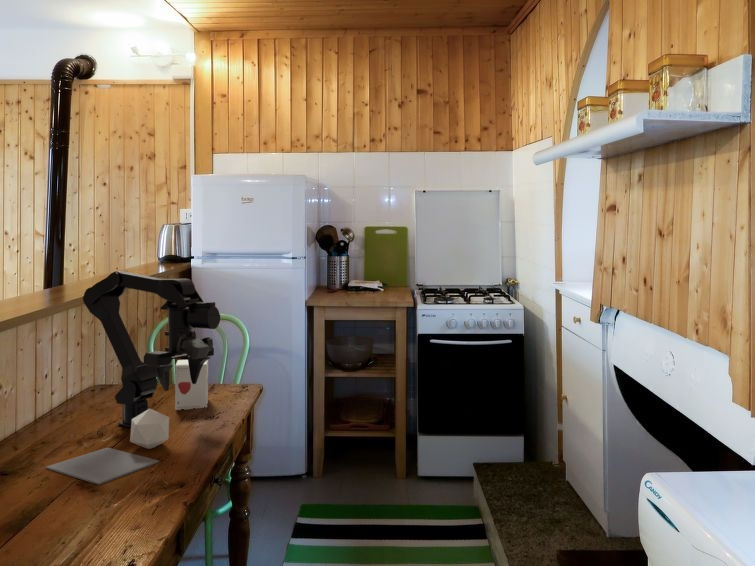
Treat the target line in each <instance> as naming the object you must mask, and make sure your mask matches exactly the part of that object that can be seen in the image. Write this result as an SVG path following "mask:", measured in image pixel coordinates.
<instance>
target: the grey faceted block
mask: <svg viewBox="0 0 755 566" xmlns="http://www.w3.org/2000/svg"><path fill="white" fill-rule="evenodd" d="M169 431H170V417H169V416H167V415H165V414H163V413H161V412H159V411H156V410H154V409H152V408H148V410H146V411H145V412H143V413H141V414H140V415H138V416H136V417H135V418H133V419H132V421H131V427H130V436H129V437H130V439H129V442H130V443H132V444H135V445H137V446H140V447H142V448H145V449H148V450H150V449H154V448H156V447H158V446H160V445H161V444H162V443H164V442H166V441H167V440H169V436H170V435H169V433H170V432H169Z"/></svg>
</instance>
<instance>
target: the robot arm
mask: <svg viewBox="0 0 755 566" xmlns="http://www.w3.org/2000/svg"><path fill="white" fill-rule="evenodd" d="M126 289H132V290H137V291H141V292H146V293H152V294H155V295H157V296H158V297H160V299H163V300H165V303H163V304H162V306H160V310H162V311H165V310H166V311H167V318H168V319H167V320H168V322H167V323H168V325H167V329H168V330H167V331H164V336H167V337H168V339H167V341H168V346H165V347H164V351H161V350H160V351H159V350H154V351H148V352H146V353H145V354H144V355H143V360H141V358H140V356H139V353H138V351H137V350H136V348H135V345H134V343H133V341H132V338H131V337H130V334H129V332H128V330H127V328H126V325H125V324H124V322H123V319H122V318H121V314H120V309H121V302H120V297H122V296H123V294H124V293H125V291H126ZM82 302H83V304H84V306H85V307H86V308H87V310H88V312H89V313H90V314H91V315H92V316H94V317H96V319H97V320H99V321H100V323H101V325H102V327H103V330H104V331H105V334H106V336H107V338H108V341H109V343H110V344H111V347H112V350H113V351H114V354H115V355H116V357H117V360H118V362H119V365H120V366H121V377H120V380H121V384H122V388H121V389H120V390H119V391H118V392H117V393H116V394H115V395H114V400H115V402H116V404H119V405H122V406H121V407H122V420H121V421H118V422H117V425H119V426H124V427H129V428H131V421H132V419H133V418H135V417H136V416H138V415H140V414H141V413H143V412H145V411H146V410H148V409H149V406H148V405H149V400H147V399H152V398H153V397H154V393H155V391H156V389H157V386H158V385H159V383H160V384H161V385H160V386H162V388H163V390H164V391H166V392H168V391H169V388H170V370H171V369H172V367H173V364H171V363H172V361H173V360H177V359H181V358H186V357H187V360H188V364H189V370H190V376H191V381H192V384H196V382H197V379H198V377H199V374H200V371H201V368H202V366H203V364H204V363H205V362H206V361H207V360H208V361H209V360H210V359H211V356H214V355H215V348H214V341H213V338H212V337H210V336H207V337H203V338H198V337H197V334H196V331H195V330H193V329H201V330H202V329H204V330H216V328H218V327H219V325H220V323H221V314H220V311H219V309H218V307H216V302H214V301H209V302H204V300H203V298H202V297H201V296H200V294H199V293H198V291H197V290H196V286H195V284H194V282H193V281H192V279H191V278H190V279H189V278H160V277H153V276H148V275H144V274H138V273H134V272H129V271H127V270H123V271H122V270H119V271H113V272H111V273H110V274H109V275H108V276H106V277H104V279H102V280H100V281H98V282H96V283H95V284H93V285H92V286H90V287H88V288H86V289H85V292H84V293H83V296H82ZM192 328H193V329H192Z"/></svg>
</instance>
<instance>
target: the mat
mask: <svg viewBox="0 0 755 566" xmlns="http://www.w3.org/2000/svg"><path fill="white" fill-rule="evenodd" d="M158 463H160V460H157V459H153V458H150V457H147V456H143V455H139V454H134V453H131V452H126V451H123V450H118V449H115V448H111V447H104V448H101V449H98V450H95V451H92V452H88V453H86V454H82V455H79V456H75V457H71V458H69V459H66V460H63V461H60V462H57V463H53V464H50V465H47V466H45V469H46V470H50V471H53V472H56V473H59V474H62V475H66V476H68V477H72V478H76V479H79V480H82V481H84V482H85V481H86V482H88V483H91V484H94V485H98V486H101V485H103V484H106V483H108V482H111V481H113V480H116V479H118V478H121V477H124V476H127V475H129V474H133V473H135V472H139V471H141V470H143V469H146V468H149V467H151V466H153V465H156V464H158Z"/></svg>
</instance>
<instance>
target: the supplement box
mask: <svg viewBox="0 0 755 566" xmlns="http://www.w3.org/2000/svg"><path fill="white" fill-rule="evenodd" d="M174 369H175V371H174V375H175V377H174V379H175V381H174V383H175V384H174V387H175V389H174V390H175V391H174V393H175V394H174V395H175V396H174V397H175V399H174V401H175V402H174V404H175V405H174V409H175V411H182V410H181V409H184V410H194V409H193V408H195V409H203V408H204V407H205V408H208V405H209V359H208V360H207V361H206V362H205V363H204V364H203V366H202V368H201V371H200V374H199V377H198V379H197V382H196V384H192V381H191V376H190V370H189V364H188V359H178V360H177V361H176V363H175V366H174ZM207 404H208V405H207Z"/></svg>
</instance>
